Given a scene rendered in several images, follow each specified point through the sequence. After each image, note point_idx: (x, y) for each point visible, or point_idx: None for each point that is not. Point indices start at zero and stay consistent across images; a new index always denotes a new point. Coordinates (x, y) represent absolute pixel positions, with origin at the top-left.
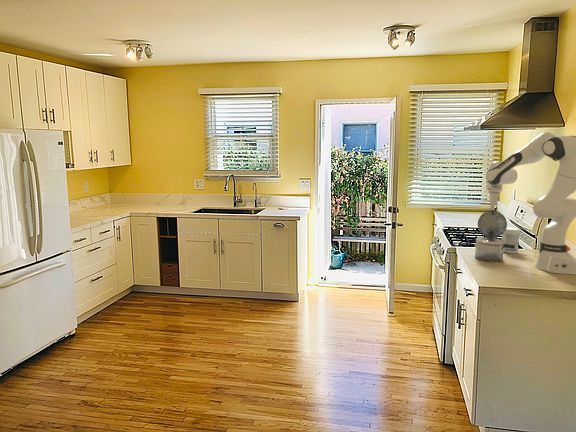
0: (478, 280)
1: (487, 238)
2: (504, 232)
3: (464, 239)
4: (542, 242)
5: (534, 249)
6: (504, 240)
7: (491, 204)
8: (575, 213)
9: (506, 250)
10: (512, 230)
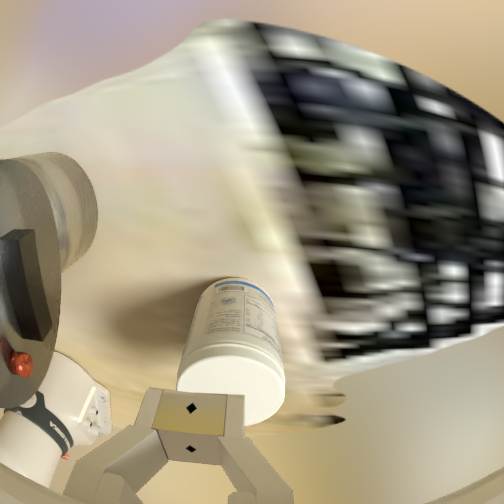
0: None
1: None
2: (195, 345)
3: (436, 111)
4: (9, 411)
5: (321, 393)
6: (198, 317)
7: (81, 467)
8: None
9: (198, 301)
10: None
